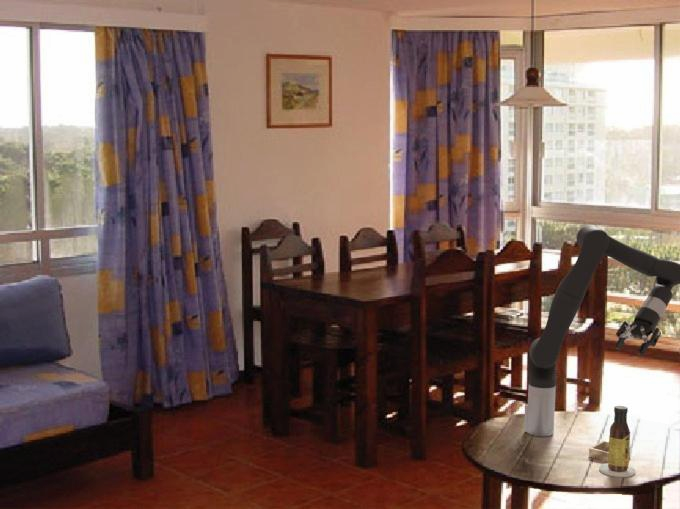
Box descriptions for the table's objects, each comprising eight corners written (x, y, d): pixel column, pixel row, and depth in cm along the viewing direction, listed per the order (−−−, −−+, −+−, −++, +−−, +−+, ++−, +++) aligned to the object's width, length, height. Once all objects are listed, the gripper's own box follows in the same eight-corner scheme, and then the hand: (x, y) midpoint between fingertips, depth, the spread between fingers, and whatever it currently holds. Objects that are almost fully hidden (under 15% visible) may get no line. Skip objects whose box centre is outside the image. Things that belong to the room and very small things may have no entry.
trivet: (593, 471, 330) (593, 469, 330) (608, 462, 339) (608, 460, 339) (625, 480, 323) (626, 478, 323) (641, 470, 332) (641, 468, 332)
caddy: (588, 457, 343) (589, 448, 343) (603, 449, 351) (603, 440, 351) (615, 463, 337) (616, 454, 337) (629, 455, 345) (630, 446, 345)
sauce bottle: (628, 473, 327) (632, 411, 324) (608, 471, 328) (611, 409, 326) (627, 466, 334) (631, 405, 331) (607, 464, 335) (610, 403, 332)
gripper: (628, 302, 359) (606, 340, 353) (665, 309, 348) (642, 348, 342) (636, 316, 363) (614, 353, 357) (673, 323, 352) (651, 362, 346)
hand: (628, 351), depth 350 cm, fingers open, 8 cm apart
